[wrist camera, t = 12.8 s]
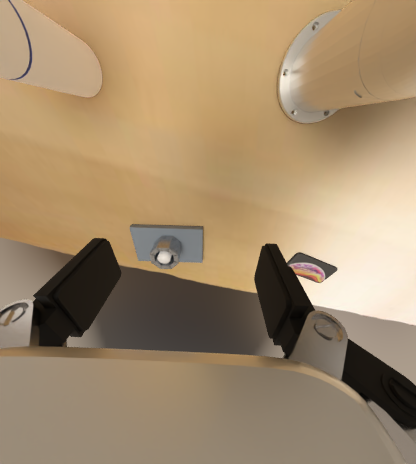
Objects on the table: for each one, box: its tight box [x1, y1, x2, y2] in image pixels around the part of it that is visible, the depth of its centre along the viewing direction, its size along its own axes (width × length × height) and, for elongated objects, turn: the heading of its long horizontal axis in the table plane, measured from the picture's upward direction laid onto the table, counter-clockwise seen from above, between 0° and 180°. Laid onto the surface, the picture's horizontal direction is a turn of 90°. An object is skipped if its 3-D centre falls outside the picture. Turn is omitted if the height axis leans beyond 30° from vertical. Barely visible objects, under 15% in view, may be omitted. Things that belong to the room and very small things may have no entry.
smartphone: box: [287, 253, 337, 283], centre depth 49 cm, size 8×1×15 cm
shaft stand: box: [130, 224, 203, 264], centre depth 42 cm, size 18×11×6 cm, turn 89°
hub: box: [149, 235, 182, 269], centre depth 41 cm, size 7×7×5 cm
